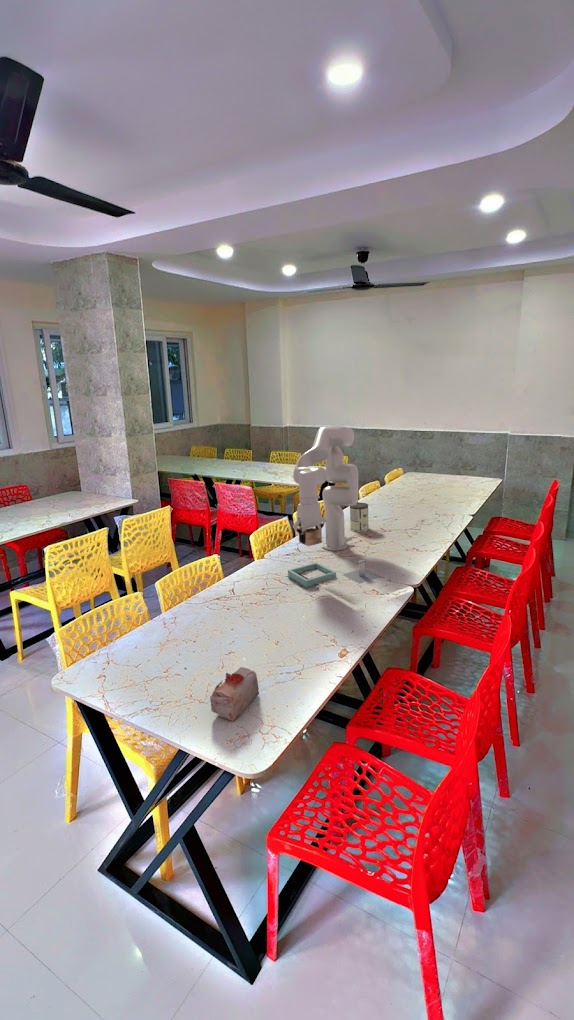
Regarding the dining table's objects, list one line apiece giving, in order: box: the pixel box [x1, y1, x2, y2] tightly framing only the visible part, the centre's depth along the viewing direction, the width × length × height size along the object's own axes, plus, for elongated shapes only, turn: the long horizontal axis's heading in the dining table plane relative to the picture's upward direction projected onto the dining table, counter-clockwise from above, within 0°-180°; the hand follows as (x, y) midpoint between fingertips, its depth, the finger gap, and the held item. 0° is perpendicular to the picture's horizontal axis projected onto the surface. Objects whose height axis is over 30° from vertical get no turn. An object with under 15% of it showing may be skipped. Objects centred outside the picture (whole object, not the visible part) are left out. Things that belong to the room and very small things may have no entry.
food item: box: [209, 666, 260, 722], centre depth 136 cm, size 14×8×10 cm, turn 151°
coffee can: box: [349, 502, 369, 533], centre depth 283 cm, size 10×10×14 cm
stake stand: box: [342, 559, 383, 585], centre depth 216 cm, size 12×12×8 cm
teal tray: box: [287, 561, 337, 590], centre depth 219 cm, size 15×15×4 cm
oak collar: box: [298, 526, 323, 547], centre depth 215 cm, size 7×7×6 cm
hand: (310, 540), depth 215 cm, fingers closed on oak collar, 7 cm apart
